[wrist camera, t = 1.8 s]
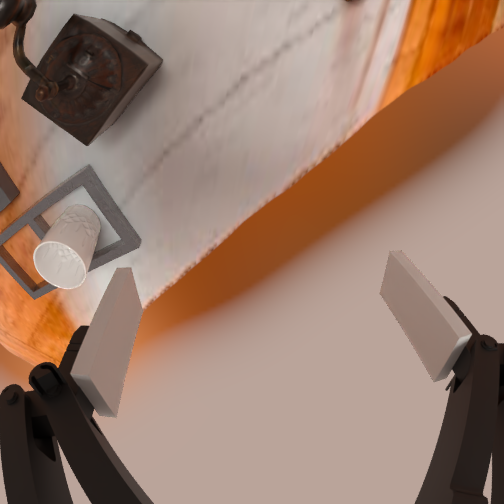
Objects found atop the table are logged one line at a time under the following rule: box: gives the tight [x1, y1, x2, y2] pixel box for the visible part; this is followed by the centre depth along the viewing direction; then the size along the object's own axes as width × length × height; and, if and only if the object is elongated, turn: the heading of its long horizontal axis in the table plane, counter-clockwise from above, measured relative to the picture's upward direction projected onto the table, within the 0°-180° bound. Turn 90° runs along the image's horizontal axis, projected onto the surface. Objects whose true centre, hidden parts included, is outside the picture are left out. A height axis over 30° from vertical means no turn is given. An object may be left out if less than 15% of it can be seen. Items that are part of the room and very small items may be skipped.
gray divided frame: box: [0, 164, 141, 300], centre depth 40 cm, size 14×26×2 cm, turn 111°
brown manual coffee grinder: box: [0, 0, 163, 146], centre depth 20 cm, size 16×11×18 cm
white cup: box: [33, 205, 101, 289], centre depth 36 cm, size 8×8×10 cm
